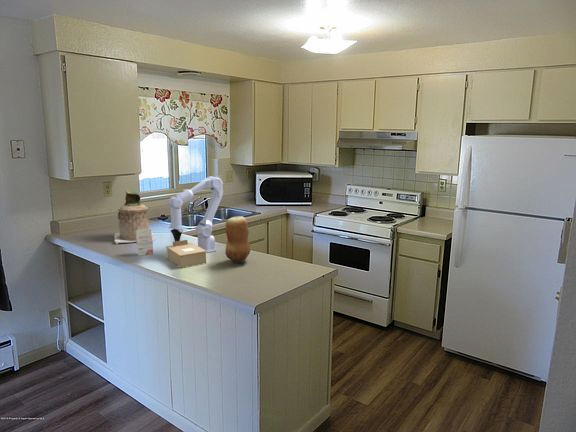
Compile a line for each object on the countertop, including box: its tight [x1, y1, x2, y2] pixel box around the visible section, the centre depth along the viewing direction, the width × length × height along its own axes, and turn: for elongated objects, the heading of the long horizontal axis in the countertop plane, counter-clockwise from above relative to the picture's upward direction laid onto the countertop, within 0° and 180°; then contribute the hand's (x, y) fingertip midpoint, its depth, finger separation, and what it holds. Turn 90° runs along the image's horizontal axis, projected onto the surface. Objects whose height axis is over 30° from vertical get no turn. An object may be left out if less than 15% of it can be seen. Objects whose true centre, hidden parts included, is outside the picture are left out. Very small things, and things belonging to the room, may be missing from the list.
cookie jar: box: [114, 190, 156, 245], centre depth 275 cm, size 25×25×32 cm
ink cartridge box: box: [136, 228, 154, 256], centre depth 243 cm, size 9×5×15 cm, turn 105°
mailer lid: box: [165, 239, 208, 256], centre depth 230 cm, size 15×21×3 cm
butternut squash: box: [225, 215, 251, 264], centre depth 227 cm, size 14×13×25 cm
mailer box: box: [166, 248, 207, 268], centre depth 231 cm, size 14×20×6 cm
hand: (177, 242), depth 240 cm, fingers closed
